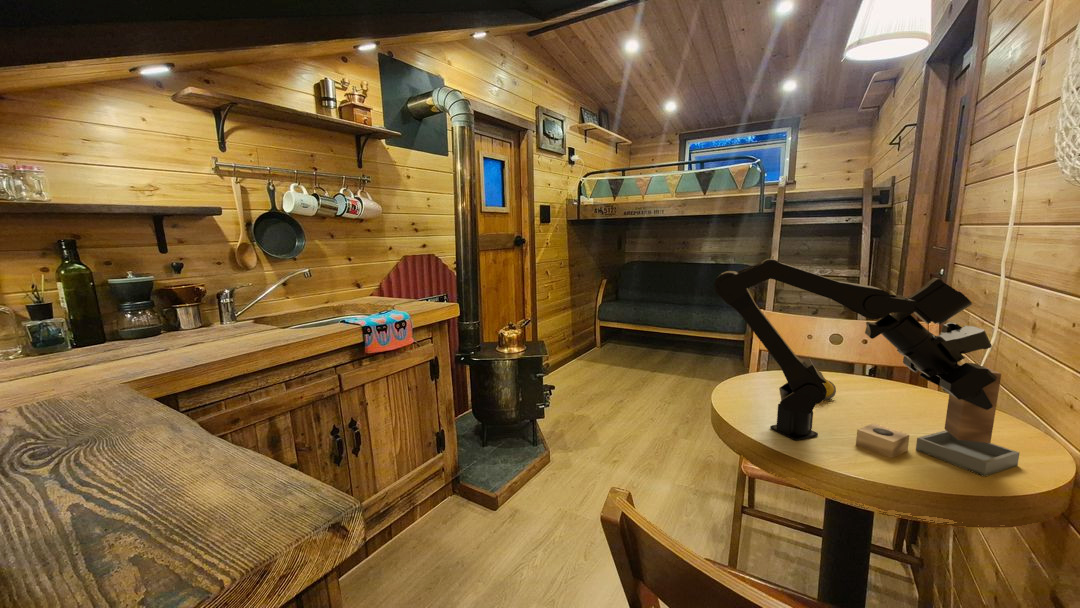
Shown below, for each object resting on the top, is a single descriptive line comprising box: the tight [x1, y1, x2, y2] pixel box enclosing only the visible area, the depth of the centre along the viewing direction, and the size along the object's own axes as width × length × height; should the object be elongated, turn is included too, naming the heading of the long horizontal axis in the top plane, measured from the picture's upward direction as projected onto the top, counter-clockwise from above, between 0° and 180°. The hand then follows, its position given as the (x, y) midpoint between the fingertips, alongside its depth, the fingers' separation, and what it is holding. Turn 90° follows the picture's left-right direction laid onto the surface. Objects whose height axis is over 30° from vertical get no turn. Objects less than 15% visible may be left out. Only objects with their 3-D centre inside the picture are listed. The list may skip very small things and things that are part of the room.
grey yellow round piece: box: [823, 377, 837, 401], centre depth 106 cm, size 5×5×10 cm
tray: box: [915, 429, 1020, 477], centre depth 77 cm, size 10×10×2 cm
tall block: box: [944, 363, 1002, 443], centre depth 76 cm, size 4×4×13 cm
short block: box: [855, 422, 910, 459], centre depth 81 cm, size 6×6×4 cm
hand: (981, 403), depth 75 cm, fingers closed on tall block, 4 cm apart
